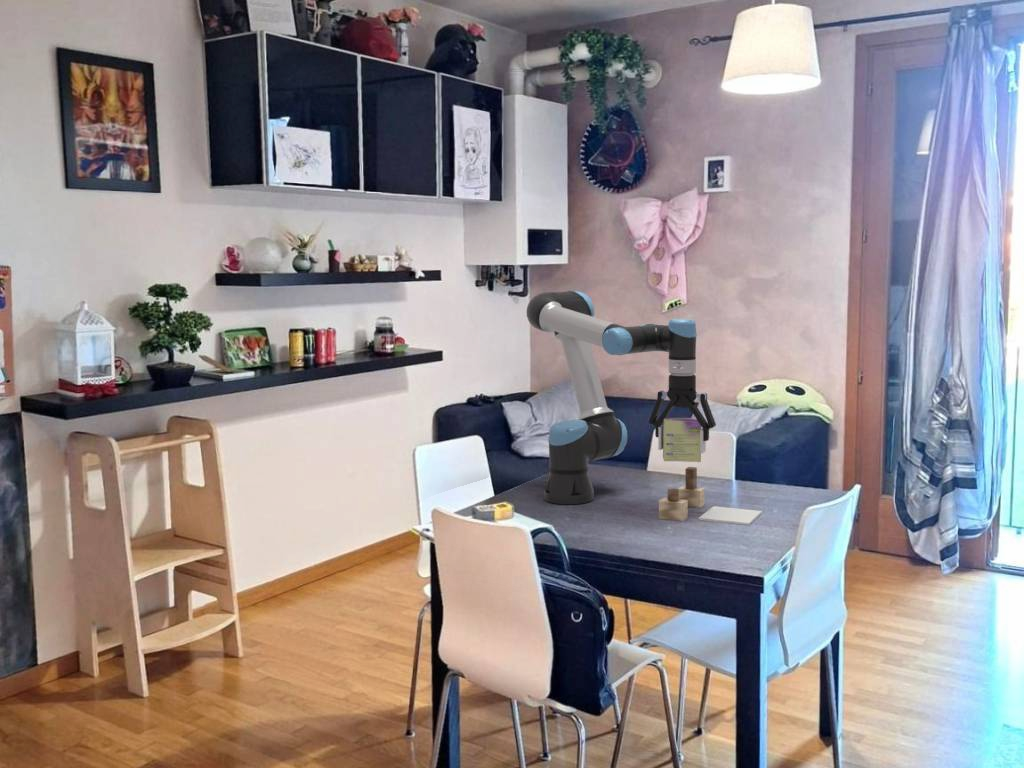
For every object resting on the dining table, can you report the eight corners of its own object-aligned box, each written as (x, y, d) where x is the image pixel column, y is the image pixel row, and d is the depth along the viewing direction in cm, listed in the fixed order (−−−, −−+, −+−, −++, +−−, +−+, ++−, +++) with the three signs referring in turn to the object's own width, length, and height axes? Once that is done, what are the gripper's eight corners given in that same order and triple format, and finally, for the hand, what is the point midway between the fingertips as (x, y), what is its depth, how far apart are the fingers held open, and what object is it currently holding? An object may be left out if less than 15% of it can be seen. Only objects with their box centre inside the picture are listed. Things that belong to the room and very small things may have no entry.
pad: (698, 519, 273) (698, 517, 273) (713, 508, 285) (713, 506, 285) (749, 525, 267) (749, 523, 266) (762, 513, 279) (762, 511, 279)
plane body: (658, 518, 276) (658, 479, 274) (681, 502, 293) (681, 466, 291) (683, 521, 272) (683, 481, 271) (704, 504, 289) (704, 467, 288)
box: (699, 458, 283) (699, 417, 282) (701, 462, 277) (701, 420, 276) (662, 457, 284) (662, 417, 283) (663, 462, 279) (663, 420, 277)
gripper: (637, 373, 280) (637, 449, 283) (720, 377, 269) (719, 456, 272) (646, 370, 286) (646, 444, 289) (727, 374, 275) (726, 451, 278)
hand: (681, 450), depth 280 cm, fingers closed on box, 11 cm apart
